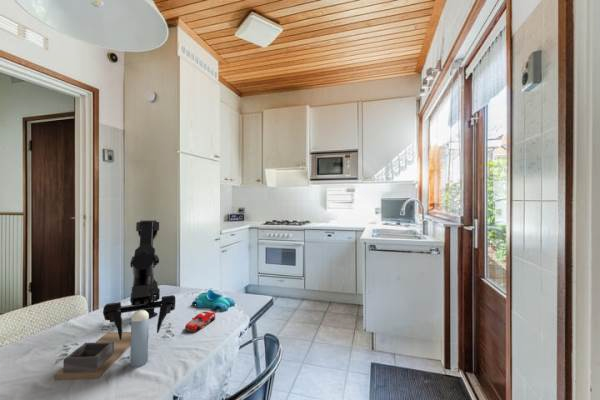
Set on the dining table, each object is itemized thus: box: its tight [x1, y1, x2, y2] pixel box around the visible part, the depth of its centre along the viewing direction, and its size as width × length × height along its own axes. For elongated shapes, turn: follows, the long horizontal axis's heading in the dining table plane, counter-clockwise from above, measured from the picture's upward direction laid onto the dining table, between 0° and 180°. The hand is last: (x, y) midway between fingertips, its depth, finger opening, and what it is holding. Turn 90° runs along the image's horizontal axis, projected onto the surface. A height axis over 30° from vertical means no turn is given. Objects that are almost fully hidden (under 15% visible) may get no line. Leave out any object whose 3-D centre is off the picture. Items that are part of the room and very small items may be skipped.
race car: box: [184, 310, 216, 333], centre depth 100 cm, size 13×5×4 cm, turn 159°
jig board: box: [53, 331, 131, 381], centre depth 80 cm, size 22×11×5 cm, turn 5°
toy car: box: [191, 289, 236, 312], centre depth 119 cm, size 11×18×7 cm, turn 72°
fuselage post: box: [129, 310, 150, 368], centre depth 77 cm, size 4×4×15 cm
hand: (139, 335), depth 76 cm, fingers open, 9 cm apart
